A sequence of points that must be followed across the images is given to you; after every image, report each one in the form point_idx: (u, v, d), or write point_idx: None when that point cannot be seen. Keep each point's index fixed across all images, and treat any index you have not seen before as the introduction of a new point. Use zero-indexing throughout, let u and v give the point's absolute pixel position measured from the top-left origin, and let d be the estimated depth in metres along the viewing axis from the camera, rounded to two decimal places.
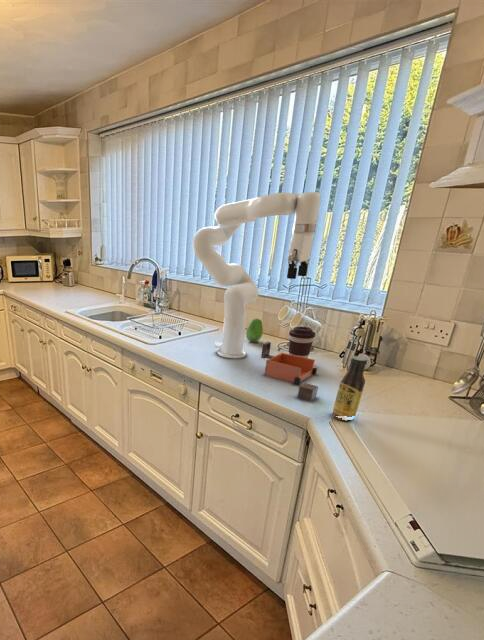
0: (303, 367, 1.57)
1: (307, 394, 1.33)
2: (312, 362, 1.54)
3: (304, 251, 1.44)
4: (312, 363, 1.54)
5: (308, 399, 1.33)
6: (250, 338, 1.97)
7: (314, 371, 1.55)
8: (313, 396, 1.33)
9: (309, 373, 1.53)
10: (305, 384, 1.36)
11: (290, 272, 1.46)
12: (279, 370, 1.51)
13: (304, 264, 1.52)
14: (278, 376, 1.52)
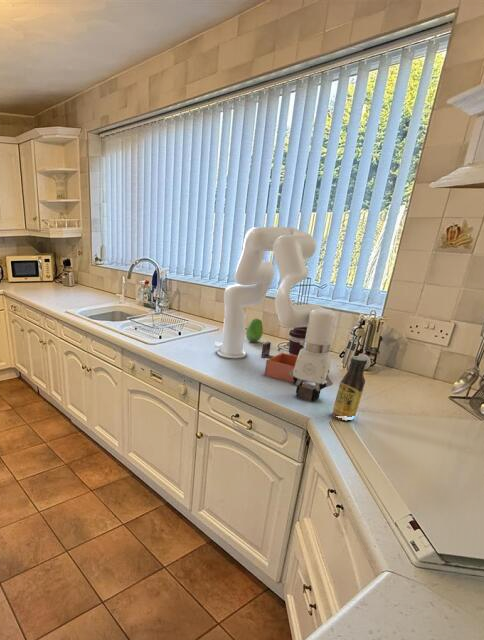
0: None
1: (307, 394, 1.33)
2: None
3: None
4: None
5: (308, 399, 1.33)
6: (250, 338, 1.97)
7: None
8: None
9: None
10: (305, 384, 1.36)
11: (318, 394, 1.32)
12: (279, 370, 1.51)
13: (302, 383, 1.36)
14: (278, 376, 1.52)
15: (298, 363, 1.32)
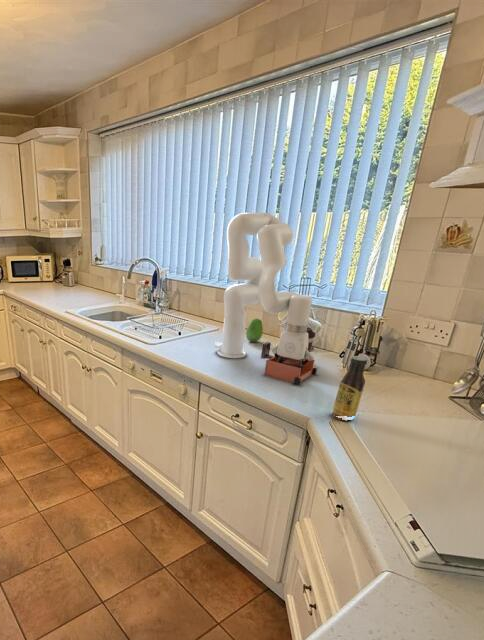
0: (303, 367, 1.57)
1: None
2: (312, 362, 1.54)
3: None
4: (312, 363, 1.54)
5: None
6: (250, 338, 1.97)
7: (314, 371, 1.55)
8: None
9: (309, 373, 1.53)
10: (287, 361, 1.55)
11: (301, 369, 1.51)
12: (279, 370, 1.51)
13: (282, 359, 1.56)
14: (278, 376, 1.52)
15: (281, 342, 1.52)
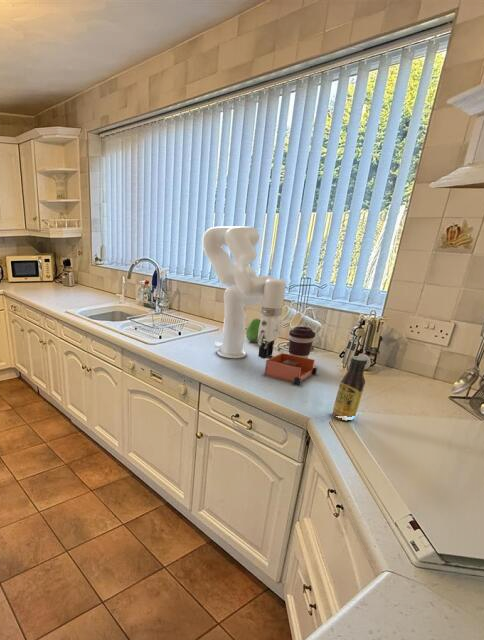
0: (303, 367, 1.57)
1: None
2: (312, 362, 1.54)
3: None
4: (312, 363, 1.54)
5: None
6: (250, 338, 1.97)
7: (314, 371, 1.55)
8: None
9: (309, 373, 1.53)
10: (287, 361, 1.55)
11: None
12: (279, 370, 1.51)
13: None
14: (278, 376, 1.52)
15: (271, 329, 1.52)
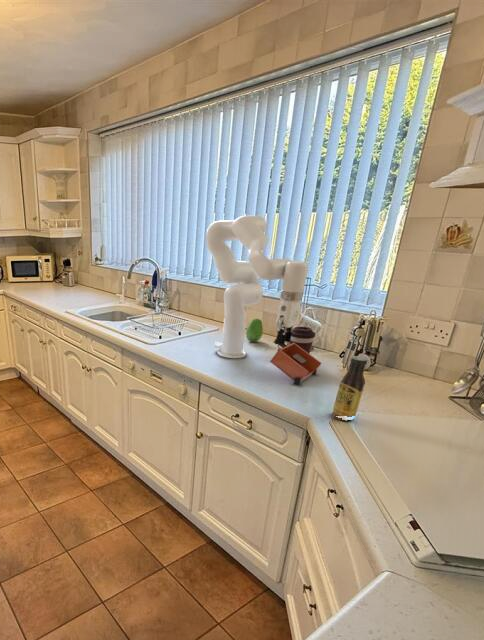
0: (307, 365, 1.55)
1: None
2: (318, 364, 1.52)
3: None
4: (318, 365, 1.52)
5: None
6: (250, 338, 1.97)
7: None
8: None
9: (311, 374, 1.53)
10: (297, 355, 1.52)
11: None
12: (287, 364, 1.48)
13: None
14: (282, 369, 1.50)
15: (290, 314, 1.45)
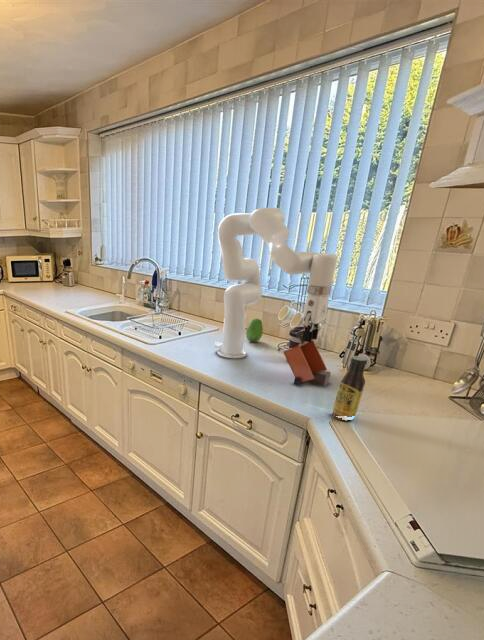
0: (313, 365, 1.54)
1: (316, 379, 1.46)
2: (323, 369, 1.51)
3: None
4: (323, 370, 1.51)
5: (315, 374, 1.46)
6: (250, 338, 1.97)
7: None
8: None
9: None
10: None
11: None
12: (298, 362, 1.45)
13: None
14: (291, 364, 1.47)
15: (319, 309, 1.37)
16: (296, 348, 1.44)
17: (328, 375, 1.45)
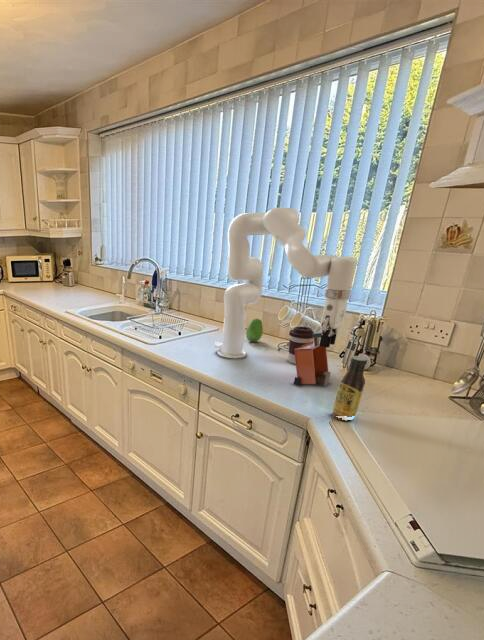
0: (316, 366, 1.53)
1: (316, 379, 1.46)
2: None
3: None
4: None
5: (315, 374, 1.46)
6: (250, 338, 1.97)
7: None
8: None
9: None
10: None
11: None
12: (305, 364, 1.43)
13: None
14: (298, 364, 1.45)
15: (338, 314, 1.33)
16: (308, 350, 1.41)
17: (328, 375, 1.45)
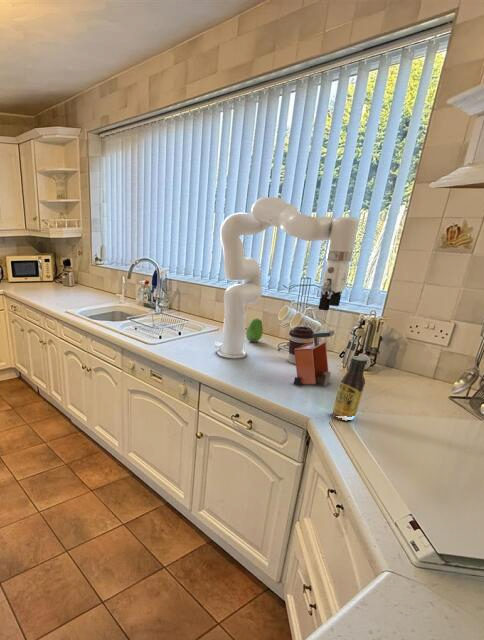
0: (316, 366, 1.53)
1: (316, 379, 1.46)
2: None
3: None
4: None
5: (315, 374, 1.46)
6: (250, 338, 1.97)
7: None
8: None
9: None
10: None
11: None
12: (305, 364, 1.43)
13: None
14: (298, 364, 1.45)
15: (339, 276, 1.30)
16: (308, 350, 1.41)
17: (328, 375, 1.45)
